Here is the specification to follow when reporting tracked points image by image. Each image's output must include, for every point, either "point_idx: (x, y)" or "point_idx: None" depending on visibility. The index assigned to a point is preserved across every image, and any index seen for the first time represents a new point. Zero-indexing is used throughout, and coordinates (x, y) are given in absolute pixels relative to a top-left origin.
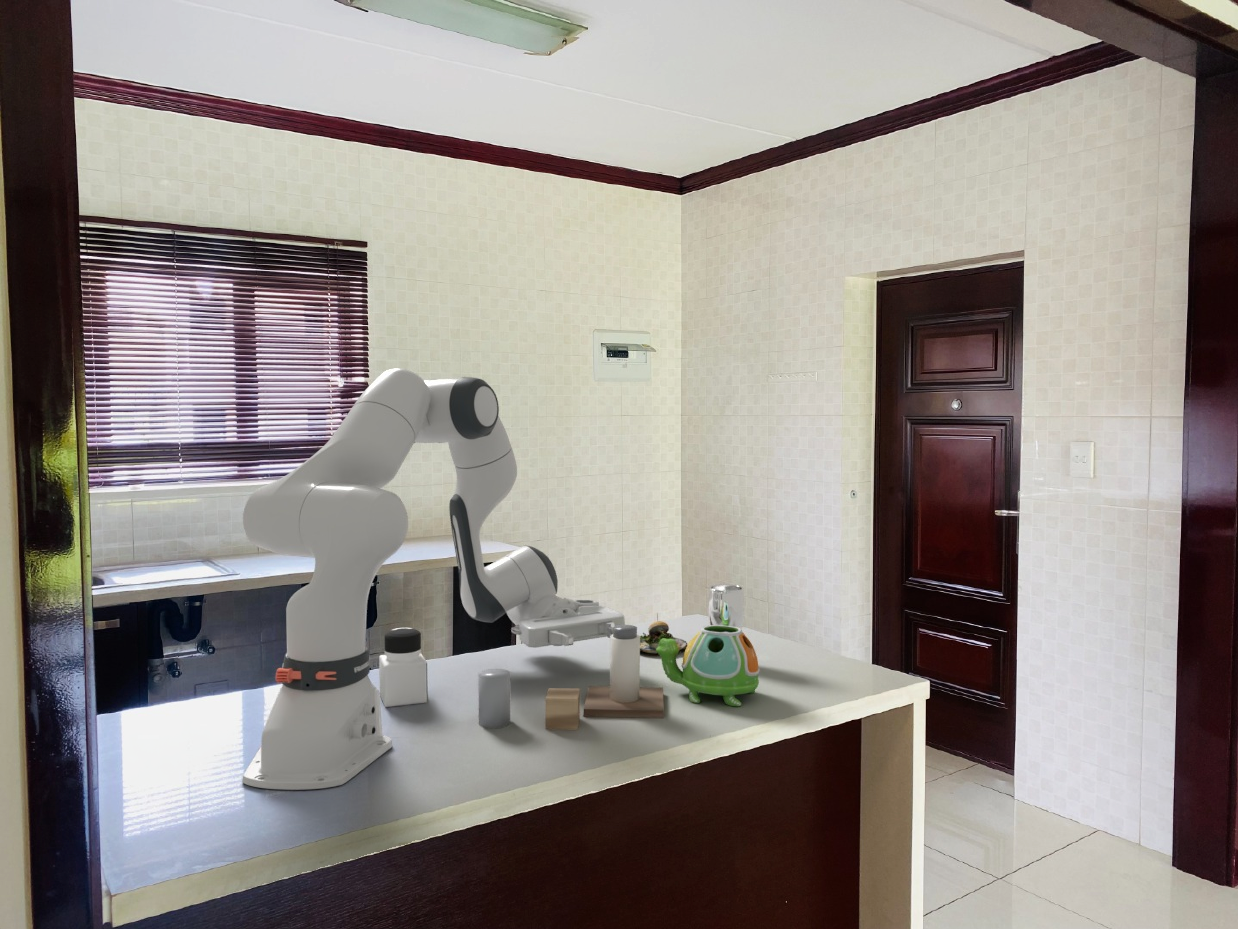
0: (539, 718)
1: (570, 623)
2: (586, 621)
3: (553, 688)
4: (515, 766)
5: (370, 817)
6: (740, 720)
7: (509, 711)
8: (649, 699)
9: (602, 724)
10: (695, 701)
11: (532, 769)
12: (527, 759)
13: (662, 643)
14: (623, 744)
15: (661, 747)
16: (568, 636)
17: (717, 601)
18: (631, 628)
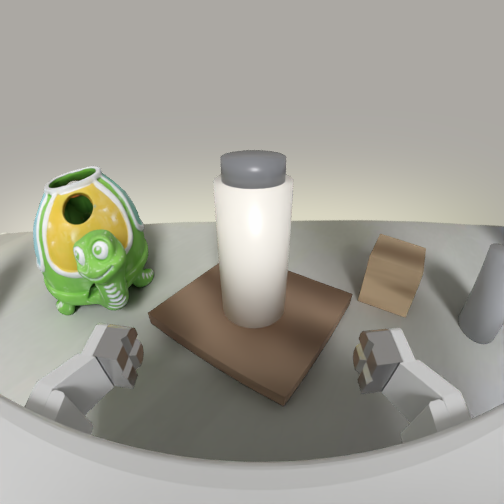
0: (419, 321)
1: (332, 465)
2: (171, 457)
3: (415, 270)
4: (435, 240)
5: (497, 230)
6: (167, 231)
7: (466, 301)
8: (219, 284)
9: (330, 275)
10: (153, 272)
11: (421, 233)
12: (427, 245)
13: (112, 239)
14: (328, 235)
15: (293, 221)
16: (386, 329)
17: None
18: (244, 152)
